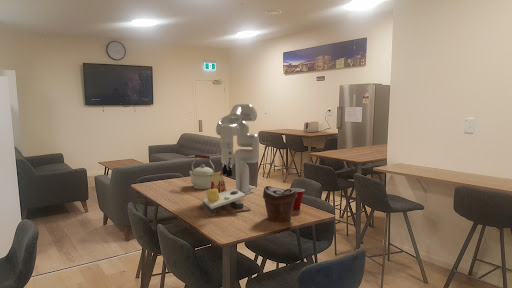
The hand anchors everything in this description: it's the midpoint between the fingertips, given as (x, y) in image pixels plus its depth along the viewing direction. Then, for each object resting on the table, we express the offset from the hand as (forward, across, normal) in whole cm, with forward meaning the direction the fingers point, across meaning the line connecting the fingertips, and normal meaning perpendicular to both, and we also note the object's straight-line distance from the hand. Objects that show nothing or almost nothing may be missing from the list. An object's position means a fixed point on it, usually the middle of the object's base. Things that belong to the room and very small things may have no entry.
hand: (227, 175), depth 215 cm
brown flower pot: (+22, -27, -21) cm, 41 cm away
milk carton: (+22, +23, -2) cm, 32 cm away
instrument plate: (+15, +3, +1) cm, 16 cm away
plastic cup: (+22, -14, -40) cm, 47 cm away
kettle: (+22, +66, -4) cm, 70 cm away
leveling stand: (+22, +3, +1) cm, 22 cm away
